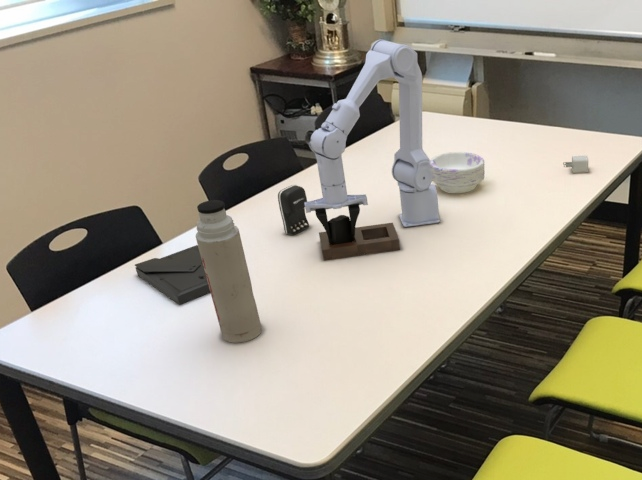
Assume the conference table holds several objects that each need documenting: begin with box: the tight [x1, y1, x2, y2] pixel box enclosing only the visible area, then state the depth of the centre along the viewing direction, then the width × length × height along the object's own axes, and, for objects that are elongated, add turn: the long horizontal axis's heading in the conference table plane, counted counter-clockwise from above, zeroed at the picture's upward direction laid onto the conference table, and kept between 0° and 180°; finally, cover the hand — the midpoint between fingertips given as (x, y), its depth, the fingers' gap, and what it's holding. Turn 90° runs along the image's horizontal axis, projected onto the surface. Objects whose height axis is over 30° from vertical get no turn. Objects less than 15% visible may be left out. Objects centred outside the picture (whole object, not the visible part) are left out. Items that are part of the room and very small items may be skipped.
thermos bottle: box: [195, 199, 263, 344], centre depth 155 cm, size 8×8×28 cm
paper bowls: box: [430, 151, 486, 194], centre depth 221 cm, size 15×15×8 cm
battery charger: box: [277, 184, 310, 236], centre depth 200 cm, size 7×4×11 cm, turn 146°
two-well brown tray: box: [318, 222, 401, 261], centre depth 194 cm, size 18×10×3 cm, turn 104°
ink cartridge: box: [328, 214, 353, 245], centre depth 192 cm, size 5×2×8 cm, turn 137°
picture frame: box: [134, 244, 211, 305], centre depth 184 cm, size 16×3×21 cm
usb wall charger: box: [562, 155, 589, 174], centre depth 229 cm, size 4×7×4 cm, turn 89°
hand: (341, 235), depth 192 cm, fingers closed on ink cartridge, 5 cm apart
